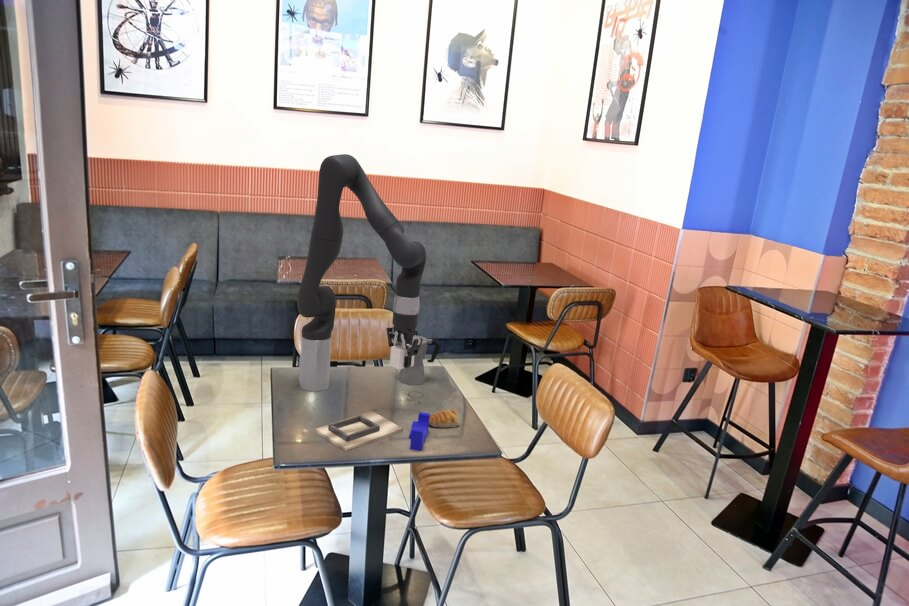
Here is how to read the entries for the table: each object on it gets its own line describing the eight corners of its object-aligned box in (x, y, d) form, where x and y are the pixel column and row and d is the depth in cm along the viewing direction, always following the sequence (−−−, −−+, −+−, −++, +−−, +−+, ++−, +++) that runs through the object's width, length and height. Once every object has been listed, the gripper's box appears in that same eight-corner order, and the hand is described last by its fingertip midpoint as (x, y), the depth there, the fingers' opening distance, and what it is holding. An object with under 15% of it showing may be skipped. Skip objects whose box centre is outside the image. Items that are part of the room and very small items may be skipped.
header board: (315, 431, 173) (315, 423, 172) (371, 414, 187) (372, 406, 186) (345, 452, 164) (346, 443, 163) (402, 431, 178) (403, 423, 177)
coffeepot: (390, 383, 211) (394, 333, 207) (394, 373, 220) (398, 325, 216) (435, 388, 211) (440, 337, 206) (437, 378, 220) (442, 329, 215)
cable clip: (412, 430, 180) (414, 411, 178) (428, 432, 179) (429, 413, 178) (404, 450, 168) (406, 429, 167) (420, 452, 168) (422, 432, 166)
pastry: (431, 430, 180) (432, 418, 179) (422, 420, 185) (423, 408, 184) (460, 426, 184) (462, 415, 183) (451, 416, 189) (452, 405, 188)
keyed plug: (389, 365, 186) (391, 346, 185) (407, 361, 191) (408, 342, 190) (398, 369, 184) (400, 350, 182) (416, 365, 189) (417, 346, 187)
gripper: (380, 305, 185) (376, 360, 189) (413, 318, 175) (408, 375, 180) (399, 302, 190) (395, 355, 194) (432, 314, 181) (427, 370, 185)
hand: (401, 364), depth 187 cm, fingers closed on keyed plug, 4 cm apart
